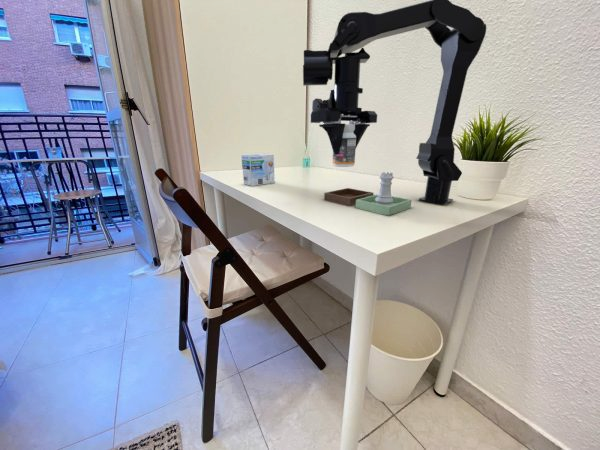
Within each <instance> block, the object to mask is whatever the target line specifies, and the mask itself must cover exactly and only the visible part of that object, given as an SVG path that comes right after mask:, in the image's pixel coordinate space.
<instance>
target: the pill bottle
mask: <svg viewBox="0 0 600 450" xmlns="http://www.w3.org/2000/svg"><path fill="white" fill-rule="evenodd" d="M344 124H345V128H344V132H343V137H342V142H341V146H340V150H339V154H338V155H335V154H334V152H333V151H332V166H334V167H339V168H349V167H351V168H352V167H354V166H355V164H356V150H357V147H356V135H355V134H354V130H355V125H354V124H349V123H348V124H347V123H344Z"/></svg>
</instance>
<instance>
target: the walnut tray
mask: <svg viewBox="0 0 600 450" xmlns="http://www.w3.org/2000/svg"><path fill="white" fill-rule="evenodd" d="M323 194H324V196H323V197H324V198H323V200H324V201H327V202H331V203H336V204H340V205H344V206H348V207H351V206H356V200H357V199H361V198H365V197H369V196H373V195H374V192H372V191H366V190H361V189H356V188H352V187H351V188H350V187H346V188H341V189H336V190H331V191H327V192H324V193H323Z"/></svg>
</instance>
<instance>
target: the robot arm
mask: <svg viewBox="0 0 600 450" xmlns="http://www.w3.org/2000/svg"><path fill="white" fill-rule="evenodd" d="M420 29H426V30H427V31H428V32H429V34H430V36H431V38H432V40H433V42H434V43H435V44H436V45H437V46H438V47H439V48H440V49H441V50H440V62H441V67H442V71H443V73H442V77H441V83H440V86H439V87H440V88H439V93H438V97H437V102H436V106H435V111H434V116H433V120H432V126H431V131H430V134H429V137H428V139H427V140H426V141H425V142H420V143H419V146H418V154H417V156H416V158H415V159H416V160H417V161H418V162H417V163H418V166H419V169H421V170H422V174H423V177H427V179H426V186H425V192H424V196H422V197H420V198H418V201H420V202H425V203H431V204H436V205H441V206H442V205H447V204H450V203H451V202H454V199H453V198H450V193H451V187H452V182H458V181H459V180H460V178H461V176H462V175H463V172H462V170H461V169H460V168H459V167H458V166H457V164H456V163H455V145H454V140H453V132H454V128H455V125H456V120H457V116H458V112H459V107H460V105H461V104H460V103H461V98H462V95H463V91H464V88H465V87H464V86H465V82H466V80H467V79H466V78H467V74H468V70H469V68H470V66H471V65H472V63H474V60H475V58H476V57H477V55H478V54H479V52H480V49H481V47H482V45H483V42H484V39H485V37H486V35H487V23H485V21H484V20H483V19H482V18H480V17H479V16H476V15H475V14H474V13H473V12H472V11H471V10H469V9H468V8H465V7H463V6H460V5H457V4H454V3H452V2H451V1H450V0H427V1H423V2H419V3H415V4H411V5H408V6H404V7H403V6H402V7H400V8H397V9H391V10H388V11H385V12H380V13H372V12H368V11H353V12H348V13H346V14H344V15H342V16H341V18H340V19H339V22H338V24H337V27H336V30H335V33H334V37H333V40H332V41H331V42H330V43H329V46H328V49H327V50H312V49H304V50H303V65H302V86H304V87H305V86H310V87H311V86H327V85H328V83H329V81H332V80H333V73H334V85H333V86H334V87H333V89H330V91H329V97H328V99H323V100H322V98H314V99H313V100H312V104H311V112H310V114H309V117H310V118H309V120H310V121H309V123H310V124H319V125H318V126H319V128H322V129H323V130H324V131H325V132H326V134H327V136H328V139H329V142H330V146H331V149H332V153H333V152H334V154H335V155H338V154H339V150H340V146H341V142H342V137H343V132H344V128H345V124H346V123H342V122H348V124H354V125H355V130H354V134H355V135H356V148H357V147H358V145H359V143H360V141H361V139H362V137H363V136H364V134H365V132H366V131H367V129H368V127H370V125H371V124H376V123H378V113H376V111H375V110H362V109H363V108H362V107H359V95H360V94H363V93H364V91H363V90H364V88H363V87H360V76H361V75H360V74H361V64H366V63H367V62H368V61H369V60H370V58H371V55H370V54H369V53H368V52H367V51H366V49H365V47H366V46H367V45H369V44H370V43H372V42H374V41H377V40H379V39H385V38H388V37H392V36H397V35H400V34H405V33H408V32H412V31H416V30H420ZM357 50H359V51H357ZM356 51H357V52H356ZM342 55H343V56H342ZM333 71H334V72H333ZM321 123H322V124H321Z"/></svg>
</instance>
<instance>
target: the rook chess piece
mask: <svg viewBox="0 0 600 450" xmlns="http://www.w3.org/2000/svg"><path fill="white" fill-rule="evenodd" d="M394 178H395V177H394V175H393V172H389V171H388V172H381V174H380V176H379V179H380V182H379V184H380V185H379V191H378V193H377V194H378V195H377V194H376V195H377V197H376V198H375V200H376V202H375V203H376V204H380V205H385V206H391V205H393V203H392V202H393V198H392V196H393V195H392V184H393V183H392V180H394Z"/></svg>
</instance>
